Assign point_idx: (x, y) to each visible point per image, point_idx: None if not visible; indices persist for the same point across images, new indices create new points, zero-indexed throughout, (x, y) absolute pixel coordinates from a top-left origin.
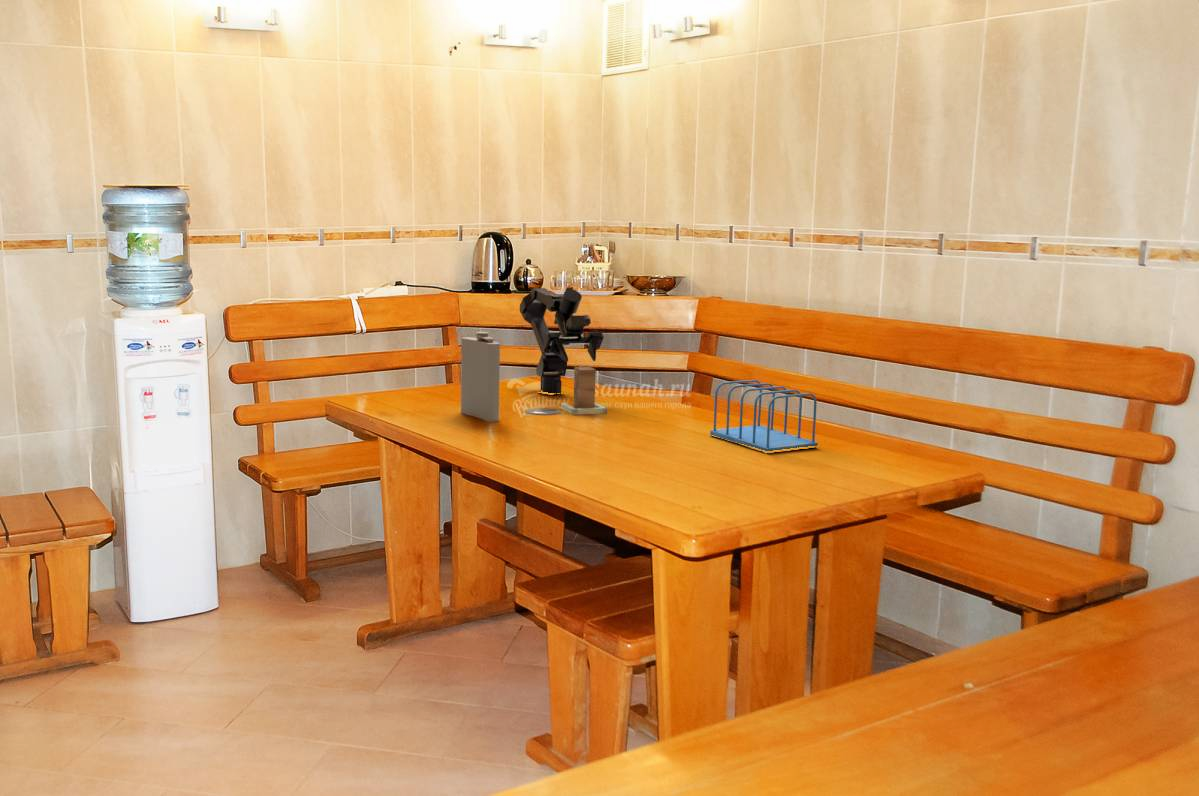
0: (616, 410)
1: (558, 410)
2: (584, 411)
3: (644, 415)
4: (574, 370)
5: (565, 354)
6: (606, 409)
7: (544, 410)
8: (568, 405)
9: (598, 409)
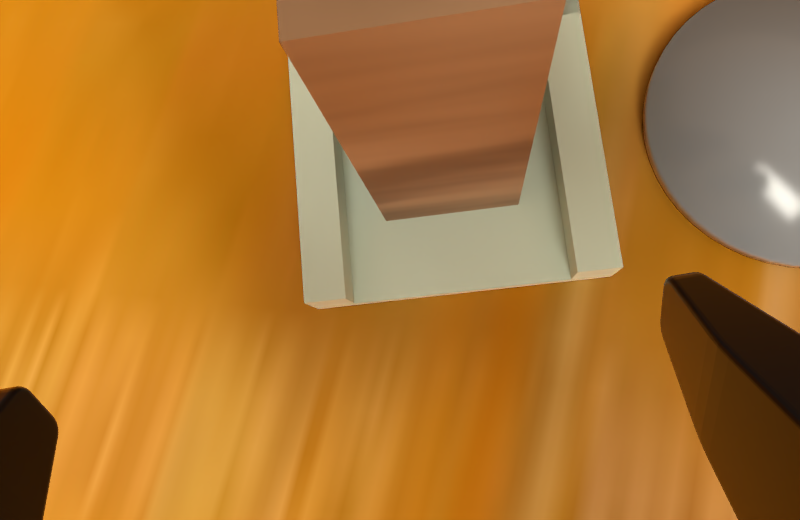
0: (179, 213)
1: (658, 151)
2: None
3: (60, 21)
4: (558, 24)
5: (792, 357)
6: None
7: (782, 156)
8: (575, 152)
9: None
